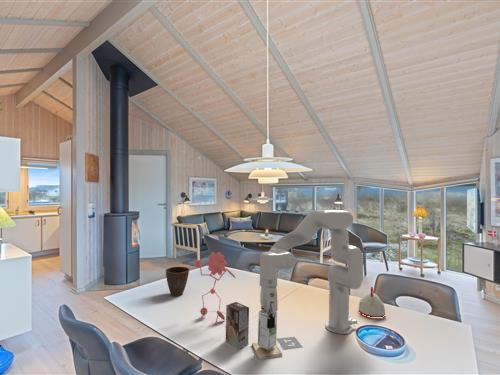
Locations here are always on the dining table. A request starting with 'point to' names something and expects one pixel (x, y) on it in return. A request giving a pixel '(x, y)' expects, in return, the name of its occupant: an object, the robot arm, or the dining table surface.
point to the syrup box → (266, 331)
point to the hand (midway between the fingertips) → (267, 323)
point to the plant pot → (177, 279)
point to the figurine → (215, 265)
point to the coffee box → (237, 324)
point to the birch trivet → (266, 351)
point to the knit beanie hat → (371, 305)
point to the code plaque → (289, 343)
